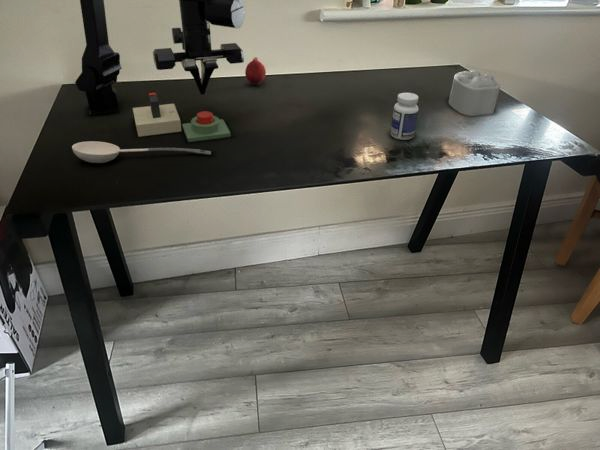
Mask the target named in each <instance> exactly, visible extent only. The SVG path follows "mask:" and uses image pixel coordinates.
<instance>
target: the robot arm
mask: <svg viewBox="0 0 600 450" xmlns="http://www.w3.org/2000/svg"><path fill="white" fill-rule="evenodd" d="M79 3H80V11H81V17H82V18H81V19H82V25H83V32H84V38H85V44H86V45H85V49H84V50H83V54H82V56H81V73H79V75H78V77H77V78H76V79H75V82H74V83H75V85H76V87H77V90H79V92H80V91H81V92H85V97H86V99H87V104H88V108H89V115H90V116H99V115H109V114H117V113H118V108H119V102H118V97H117V92H116V88H113V84H115V83H117V82H118V76H119V75H120V72H121V70H122V65H121V55H120V53H119V52H115V51H114V50H113V48H112V47H111V46H110V43H109V41H110V40H109V33H108V26H107V25H108V24H107V17H106V8H105V0H79ZM178 3H179V12H180V21H181V27H172V28H171V35H172V41H173V44H174V45H175V44H177V45H178V44H181V49H182V50H183V51H179V52H174V51H173V49H172V47H165V48H164V47H163V48H154V50H153V51H152V58H153V62H154V65H155V68H156V70H158V71H163V70H164V71H165V70H173V69H174V68H175V66H176V63H180V65H181V66H182V68H183V71H184V72H189V73H190V75H191V76H192V78H193V80H194V82H195V84H196V87H197V89H198V92H199V93H200V95H201V96H202V95H203V96H204V95H205V94H206V90H207V88H208V85H209V82H210V79H211V77H212V74H213V73H214V71H215V70H218V69H219V65H218V63H217V61H218V60H220V59H225V60H226V61H227V62H228V63H229V64H230V65H233V64H243V63H244V62H245V57H244V56H245V55H244V51H243V49H242V48H241V47H240V45H238V44H237V42H229V43H220V47H219V48H218V49H212V37H211V25H212V26H218V27H224V28H232V29H241V27H242V26H243V24H244V22H245V16H246V7H245V6H244V2H243V0H178ZM197 61H200V68H199V67H198V65H197ZM200 69H201V70H200Z"/></svg>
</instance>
